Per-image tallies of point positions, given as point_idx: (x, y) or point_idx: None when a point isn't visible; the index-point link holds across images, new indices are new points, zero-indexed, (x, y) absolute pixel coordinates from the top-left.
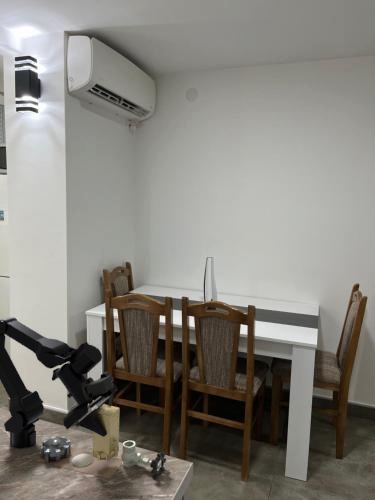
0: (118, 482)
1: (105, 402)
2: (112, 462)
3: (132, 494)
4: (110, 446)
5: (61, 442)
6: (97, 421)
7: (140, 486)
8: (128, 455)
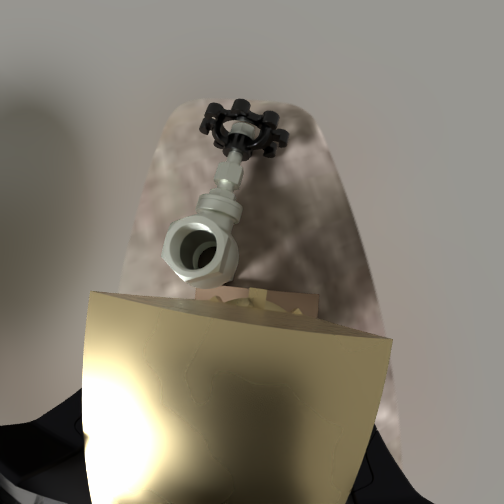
0: (306, 266)
1: (62, 490)
2: None
3: (345, 203)
4: (296, 314)
5: None
6: (370, 456)
7: (304, 190)
8: (231, 244)
